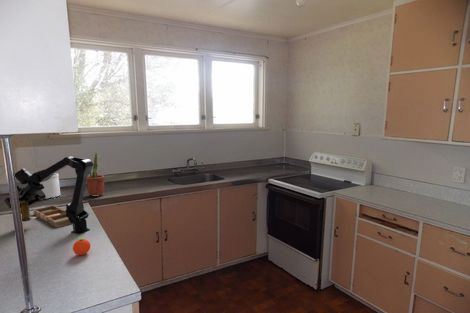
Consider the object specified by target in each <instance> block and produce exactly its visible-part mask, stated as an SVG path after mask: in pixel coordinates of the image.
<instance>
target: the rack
mask: <svg viewBox="0 0 470 313" xmlns="http://www.w3.org/2000/svg"><path fill="white" fill-rule="evenodd" d="M32 210H33V215H34V216H35V217H36V218H39V219H40V220H43V221H44V222H45V223H47V224H49V225H51V226H52V227H54V228H56V229H57V228H60V227H64V226H67V225H71V224H72V225H73V223H70V221H69V219H68V217H67V216H66V212H65V211H66V209H64V208H61V207H59V206H58V205H55V204H53V205H49V206H44V207H40V208H36V209H32Z"/></svg>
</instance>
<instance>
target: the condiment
mask: <svg viewBox="0 0 470 313" xmlns="http://www.w3.org/2000/svg"><path fill="white" fill-rule="evenodd" d="M20 205H21V207H20V208H21V214H22V221H23V223H25V222H30V221H32V220H34V219H36V218H37V216H31V214H30V206H29V204H28V202H25V201H24V202H21V203H20Z"/></svg>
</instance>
